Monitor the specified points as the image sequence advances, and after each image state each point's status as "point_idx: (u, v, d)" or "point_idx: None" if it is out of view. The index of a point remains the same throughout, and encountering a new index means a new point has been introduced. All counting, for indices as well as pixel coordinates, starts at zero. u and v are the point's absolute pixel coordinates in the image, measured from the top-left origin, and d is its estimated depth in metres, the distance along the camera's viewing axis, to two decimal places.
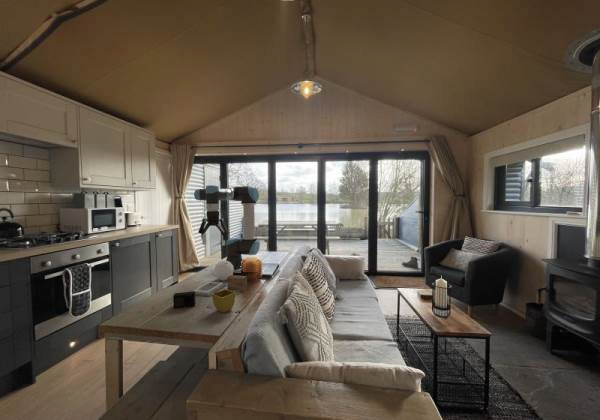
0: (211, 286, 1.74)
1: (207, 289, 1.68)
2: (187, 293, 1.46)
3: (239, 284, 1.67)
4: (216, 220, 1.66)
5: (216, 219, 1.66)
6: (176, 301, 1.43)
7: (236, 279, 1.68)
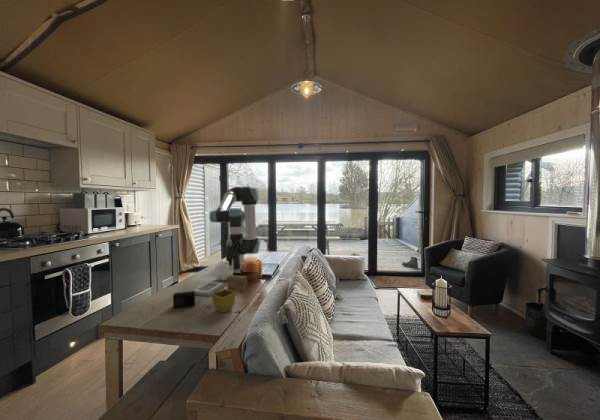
0: (211, 286, 1.74)
1: (207, 289, 1.68)
2: (187, 293, 1.46)
3: (239, 284, 1.67)
4: None
5: None
6: (176, 301, 1.43)
7: (236, 279, 1.68)
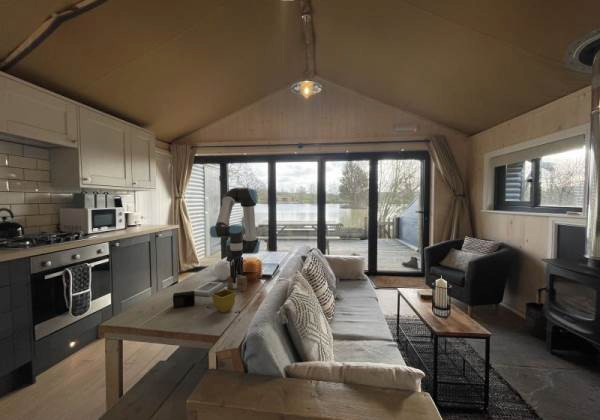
0: (211, 286, 1.74)
1: (207, 289, 1.68)
2: (187, 293, 1.46)
3: (239, 284, 1.67)
4: None
5: None
6: (176, 301, 1.43)
7: None
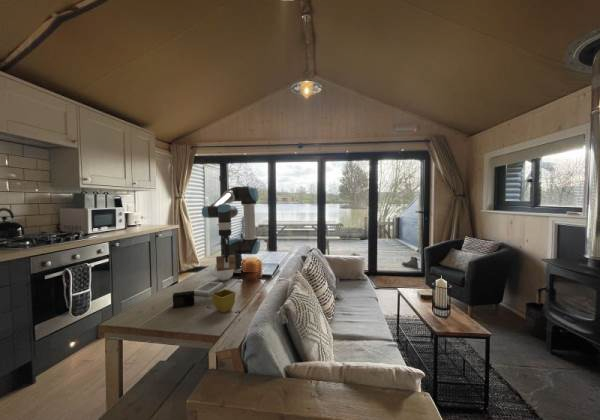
0: (211, 286, 1.74)
1: (207, 289, 1.68)
2: (186, 293, 1.46)
3: (231, 263, 1.68)
4: (224, 239, 1.65)
5: (224, 238, 1.65)
6: (176, 300, 1.43)
7: None
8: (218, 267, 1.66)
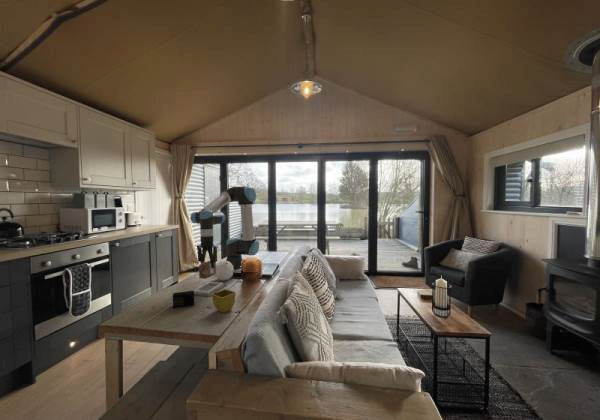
0: (211, 286, 1.74)
1: (207, 289, 1.68)
2: (186, 292, 1.46)
3: (213, 268, 1.71)
4: (210, 245, 1.66)
5: (210, 244, 1.66)
6: (175, 300, 1.43)
7: None
8: (206, 274, 1.64)
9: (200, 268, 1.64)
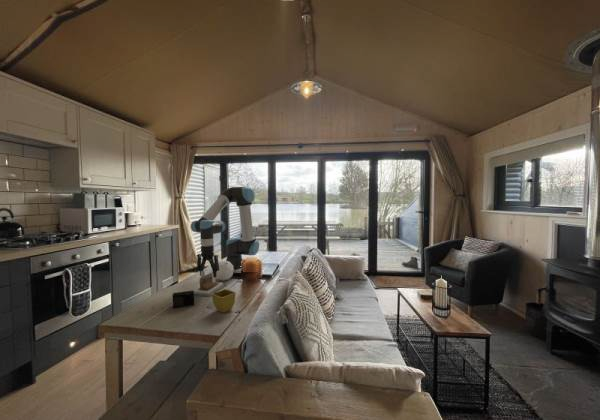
0: None
1: None
2: (186, 292, 1.47)
3: None
4: (210, 255, 1.67)
5: (211, 254, 1.67)
6: (175, 300, 1.43)
7: None
8: (207, 287, 1.65)
9: (201, 281, 1.65)
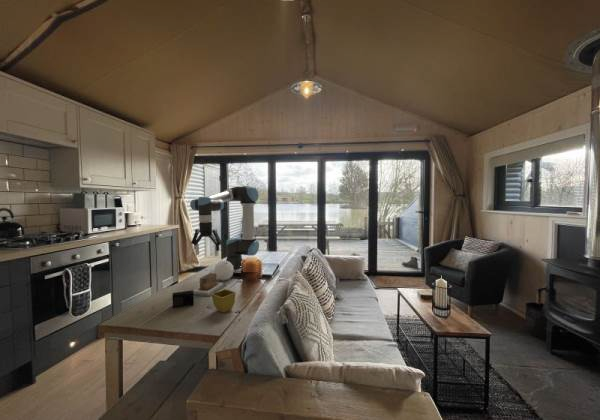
0: None
1: None
2: (186, 292, 1.47)
3: (214, 280, 1.72)
4: (209, 231, 1.68)
5: (209, 230, 1.68)
6: (175, 300, 1.44)
7: (212, 277, 1.70)
8: (207, 287, 1.65)
9: (201, 281, 1.65)
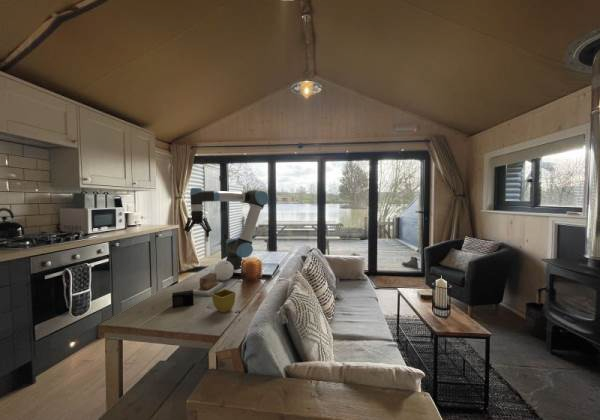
0: None
1: None
2: (186, 292, 1.47)
3: (214, 280, 1.72)
4: (200, 219, 1.86)
5: (200, 218, 1.86)
6: (175, 300, 1.44)
7: (212, 277, 1.70)
8: (207, 287, 1.65)
9: (201, 281, 1.65)
